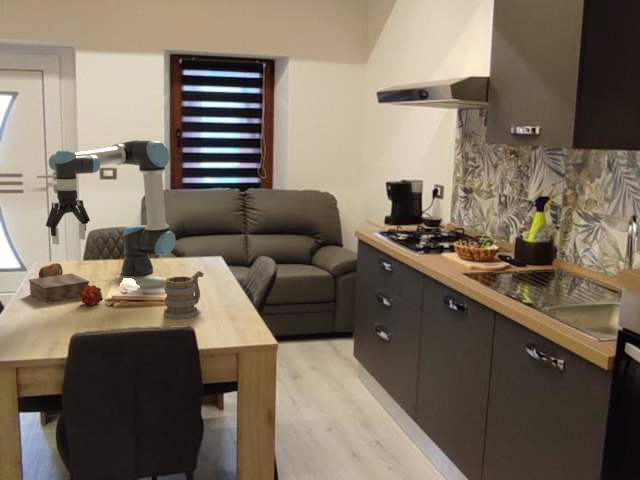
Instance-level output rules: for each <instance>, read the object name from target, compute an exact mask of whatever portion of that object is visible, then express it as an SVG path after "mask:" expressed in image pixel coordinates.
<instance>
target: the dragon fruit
mask: <svg viewBox="0 0 640 480" xmlns="http://www.w3.org/2000/svg"><path fill="white" fill-rule="evenodd" d="M79 299H80V300H81V303H82V304H84V305H85V306H86V307H87V308H89V307H91V306H93V305H98V304H99V303H100V302H102V301H103V300H104V298H103V293H102V288H100V287H99V286H98V287H97V286H96V285H93V284H92V285H90V284H88V286H87V287H86V288H83V289H82V290H81V294H80V298H79Z"/></svg>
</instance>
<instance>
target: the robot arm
mask: <svg viewBox="0 0 640 480" xmlns="http://www.w3.org/2000/svg"><path fill="white" fill-rule="evenodd" d="M169 161H170V151H169V149H168V147H167V145H165V144H164V143H163V142H162V141H158V140H129V141H125V142H120V143H115V144H114V143H113V145H112V146H110V147H103V148H97V149H89V150H81V151H74V150H57V151H56V152H55V153H54V154H52V155H50V157H49V159H48V165H49V168H50V169H51V170H52V171H53V172H55V174H56V175H55V177H56V188H57V190H56V194H57V196H56V197H57V200H58V202H52V203H51V209H50V211H49V214H48V217H47V221H46V223H45V227H47V228H50V236H51V238H52V244H53V245H59V244H60V237H59V235H60V234H59V228H58V225H59V224H60V222H61V221H62V218H63V217H64V215H66V214H69V213H72V214H73V215H74V217H76V219H77V220H78V221H79V223H78V231H79V232H78V237H79V240H86V232H87V224H88V223H89V222H91V219H90V217H89V215H88V212H87V210H86V208H85V206H84V202H83V200H82V199H78V190H77V188H78V183H77V182H78V181H77V180H78V179H77V175H80V174H82V175H83V174H95V173H98V171H100V169H101V167H102V166H108V165H113V164H115V165H117V166H119V165H131V166H138V167H139V168H138V169H139V172H140V173H141V174H142V175H143V186H144V200H145V210H146V211H145V212H146V222H147V223H146V225H144V224H143V225H142V224H141V225H133V226H128V227H125V228H124V230H123V237H122V238H123V250H124V251H123V253H124V258H123V262H122V265H121V274H122V275H125V276H135V277H136V276H146V275H150V274H153V273H154V266H153V264H152V261H151V258H150V254H151V255H157V256H167V255H169V254H171V252H172V251H173V249H174V248H175V244H176V235H175V233H174V232H173V231H171V230H170V225H169V224H168V223H167V222H166V209H165V195H164V194H165V193H164V184H163V183H164V182H163V173H164V171H165V170H166V166H167V165H168V164H169Z"/></svg>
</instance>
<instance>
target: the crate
mask: <svg viewBox="0 0 640 480" xmlns="http://www.w3.org/2000/svg"><path fill="white" fill-rule="evenodd" d="M28 282H29V290H30V296H32V297H33V298H36V299H37V300H39V301H40V302H42V303H43V304H46V305H47V304H53V303H58V302H65V301H70V300H76V299H80V294H81V290H82V289H83V288H86V287H87V286H88V285H89V284H90V280H87V279H85V278H83V277H81V276H78V275H76V274H74V273H65V274H62V275H57V276H50V277H43V278H39V277H38V278H30V279H28Z"/></svg>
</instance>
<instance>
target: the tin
mask: <svg viewBox="0 0 640 480" xmlns="http://www.w3.org/2000/svg"><path fill="white" fill-rule="evenodd" d="M63 271H64V270H63V267H62V265H61V264H60V263H58V262H56V263H50V264H48V265H45V266H42V267H41V268H40V269H39V271H38V278H43V277H50V276H57V275H64V274H63V273H64V272H63Z"/></svg>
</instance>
